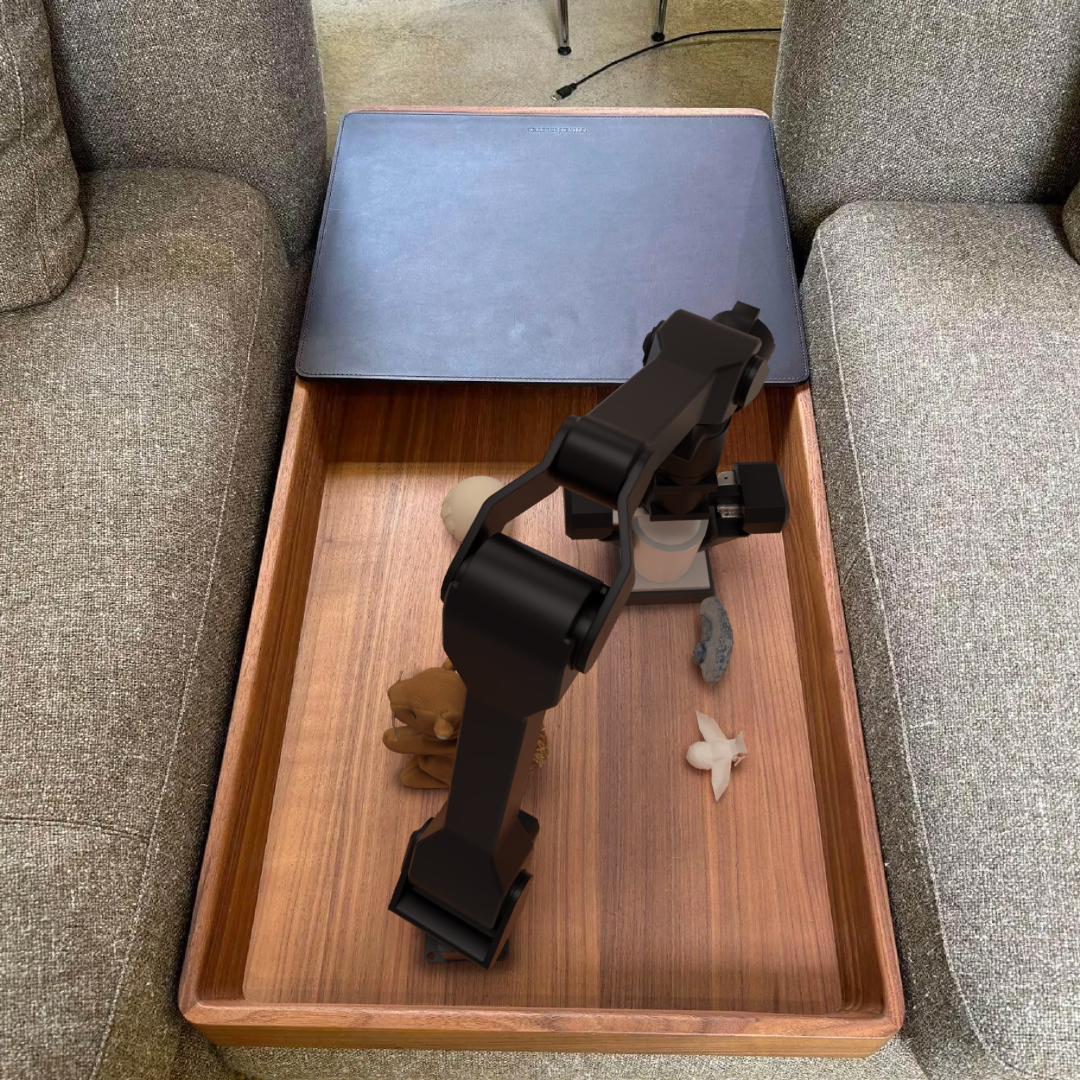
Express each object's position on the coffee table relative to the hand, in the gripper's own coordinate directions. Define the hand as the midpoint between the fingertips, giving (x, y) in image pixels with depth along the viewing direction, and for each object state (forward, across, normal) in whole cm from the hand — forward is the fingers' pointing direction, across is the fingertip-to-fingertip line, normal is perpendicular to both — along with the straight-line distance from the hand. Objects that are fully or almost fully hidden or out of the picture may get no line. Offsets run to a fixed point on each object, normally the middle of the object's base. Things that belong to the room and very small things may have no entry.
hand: (662, 549), depth 83 cm
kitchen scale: (+4, 0, -5) cm, 6 cm away
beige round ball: (+4, +17, -5) cm, 19 cm away
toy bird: (+4, -3, +19) cm, 19 cm away
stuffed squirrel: (+4, +18, +16) cm, 25 cm away
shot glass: (+2, 0, 0) cm, 2 cm away
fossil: (+4, -4, +9) cm, 10 cm away
